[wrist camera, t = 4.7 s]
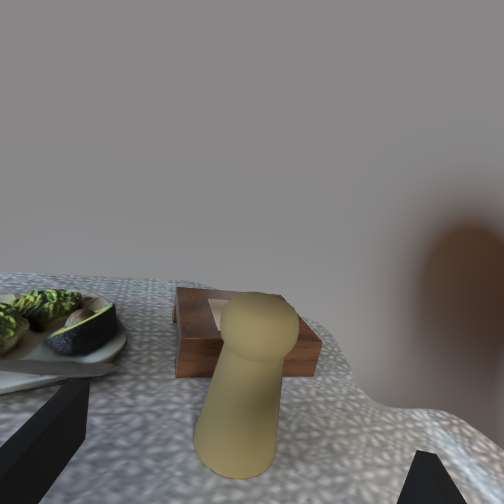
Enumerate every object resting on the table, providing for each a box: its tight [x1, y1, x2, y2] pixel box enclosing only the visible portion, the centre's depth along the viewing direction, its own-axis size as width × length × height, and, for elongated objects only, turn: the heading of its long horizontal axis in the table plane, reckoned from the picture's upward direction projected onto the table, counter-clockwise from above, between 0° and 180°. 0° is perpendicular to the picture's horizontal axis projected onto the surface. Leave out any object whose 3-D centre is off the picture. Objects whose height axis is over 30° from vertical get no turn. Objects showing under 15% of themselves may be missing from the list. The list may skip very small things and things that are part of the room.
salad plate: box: [0, 289, 127, 394], centre depth 26 cm, size 19×18×5 cm
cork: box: [193, 292, 299, 479], centre depth 21 cm, size 6×6×11 cm
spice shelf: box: [172, 287, 322, 377], centre depth 35 cm, size 12×14×4 cm
